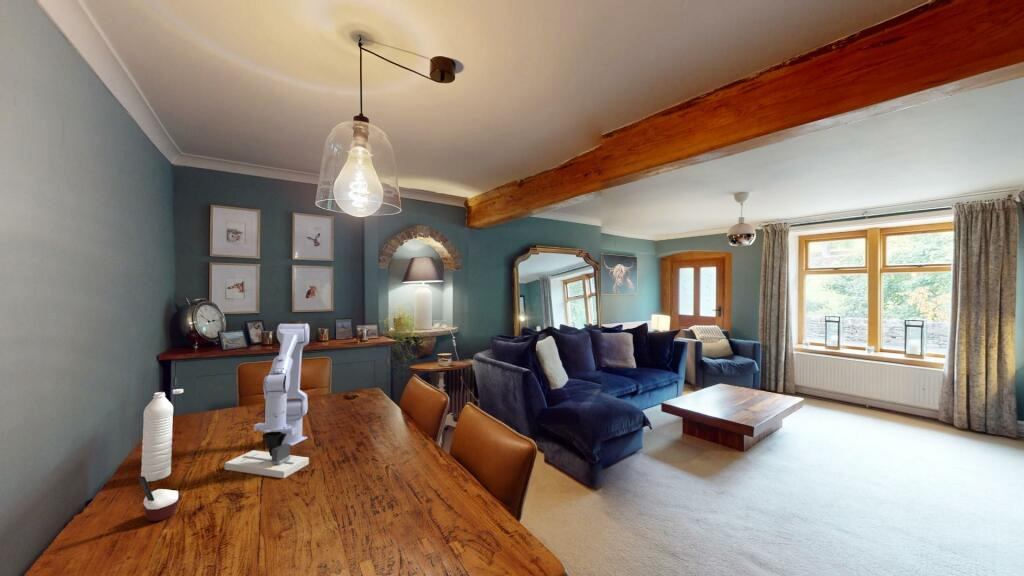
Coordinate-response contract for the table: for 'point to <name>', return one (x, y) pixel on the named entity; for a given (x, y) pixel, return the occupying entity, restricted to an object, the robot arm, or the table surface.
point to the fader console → (265, 464)
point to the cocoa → (159, 502)
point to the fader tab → (281, 454)
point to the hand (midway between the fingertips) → (274, 455)
